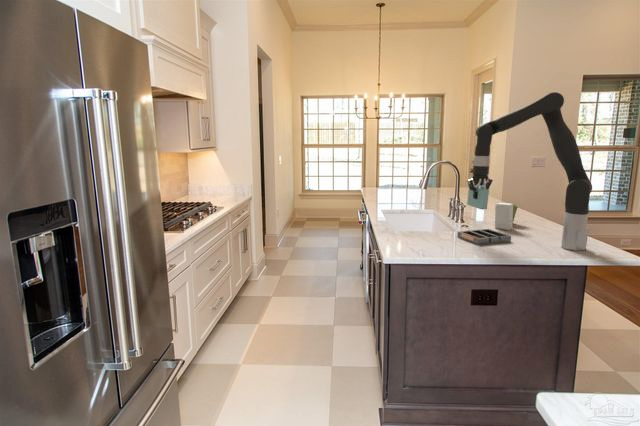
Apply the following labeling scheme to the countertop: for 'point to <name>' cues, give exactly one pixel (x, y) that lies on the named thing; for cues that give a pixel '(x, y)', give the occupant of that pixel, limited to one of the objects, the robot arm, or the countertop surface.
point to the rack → (484, 236)
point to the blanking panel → (478, 198)
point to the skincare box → (504, 216)
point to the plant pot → (514, 210)
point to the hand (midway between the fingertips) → (478, 198)
